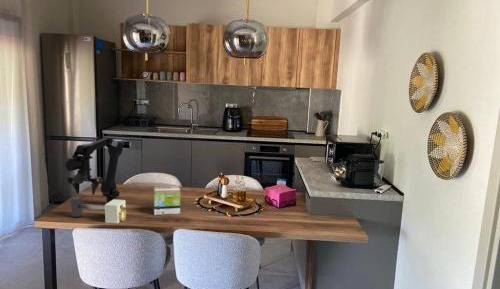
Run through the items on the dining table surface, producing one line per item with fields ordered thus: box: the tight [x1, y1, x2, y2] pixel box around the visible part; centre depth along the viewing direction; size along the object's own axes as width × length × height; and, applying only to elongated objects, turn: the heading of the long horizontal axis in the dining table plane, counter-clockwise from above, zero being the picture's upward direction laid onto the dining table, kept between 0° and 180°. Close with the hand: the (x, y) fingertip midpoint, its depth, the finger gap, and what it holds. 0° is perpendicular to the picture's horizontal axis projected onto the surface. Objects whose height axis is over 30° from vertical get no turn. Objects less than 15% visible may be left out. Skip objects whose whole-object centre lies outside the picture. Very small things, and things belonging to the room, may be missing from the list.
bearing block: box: [104, 198, 127, 224], centre depth 212 cm, size 10×7×10 cm
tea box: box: [153, 185, 181, 216], centre depth 227 cm, size 15×10×15 cm
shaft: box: [70, 196, 105, 218], centre depth 214 cm, size 4×26×10 cm, turn 83°
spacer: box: [118, 207, 128, 222], centre depth 212 cm, size 7×1×7 cm, turn 173°
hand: (85, 194), depth 216 cm, fingers open, 9 cm apart
